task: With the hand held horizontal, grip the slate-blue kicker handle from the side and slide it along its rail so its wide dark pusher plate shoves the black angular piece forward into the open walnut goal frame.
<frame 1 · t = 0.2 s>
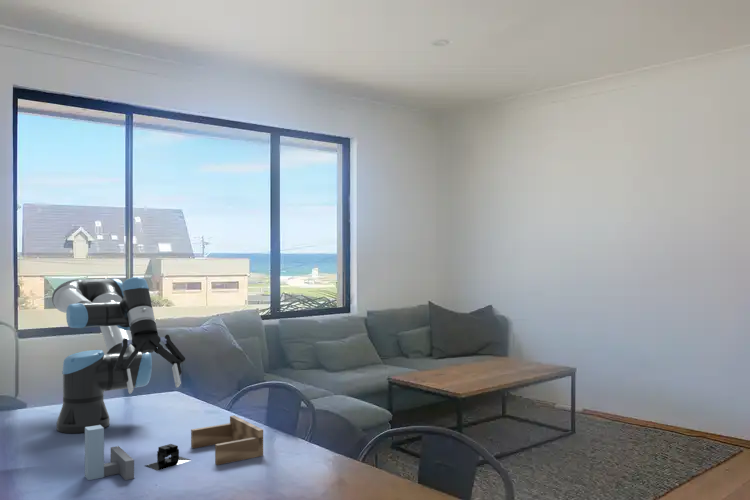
hand: (155, 388, 189), 15 cm above the table, fingers open, 13 cm apart
kicker: (106, 450, 161), point 6 cm above the table, slide at 0.0 cm
black angular piece: (168, 465, 170), on the table
goal: (227, 451, 180), on the table
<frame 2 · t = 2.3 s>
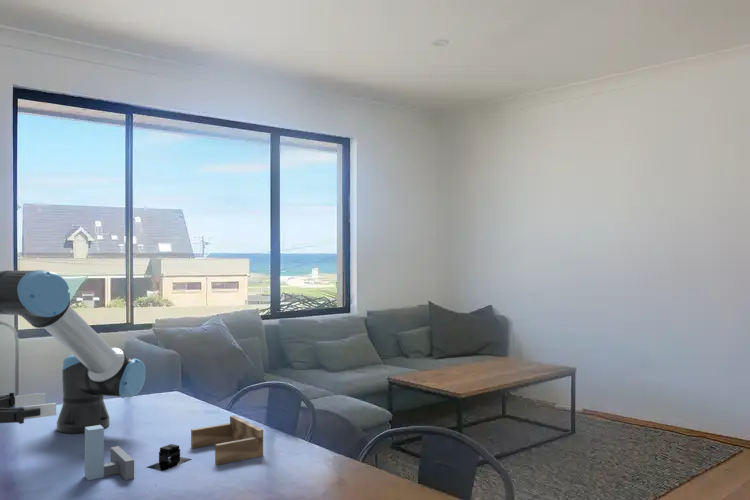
hand: (50, 403, 154), 19 cm above the table, fingers open, 13 cm apart
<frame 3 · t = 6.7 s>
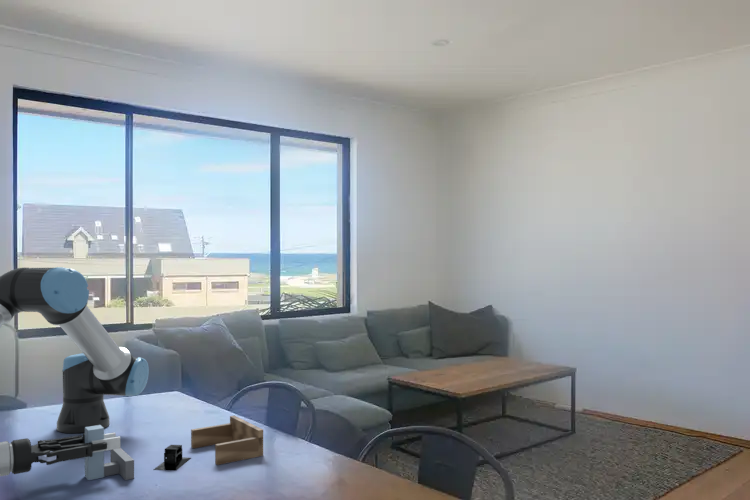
hand: (117, 440, 162), 8 cm above the table, fingers closed on kicker, 4 cm apart
kicker: (106, 450, 161), point 6 cm above the table, slide at 0.0 cm, touching gripper
black angular piece: (173, 466, 169), on the table
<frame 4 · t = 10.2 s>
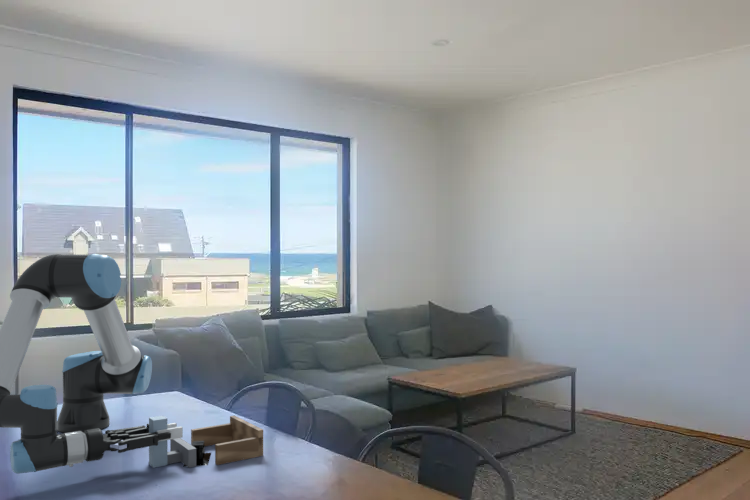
hand: (178, 430, 172), 8 cm above the table, fingers closed on kicker, 4 cm apart
kicker: (169, 439, 170), point 6 cm above the table, slide at 15.5 cm, touching gripper
black angular piece: (197, 462, 173), on the table
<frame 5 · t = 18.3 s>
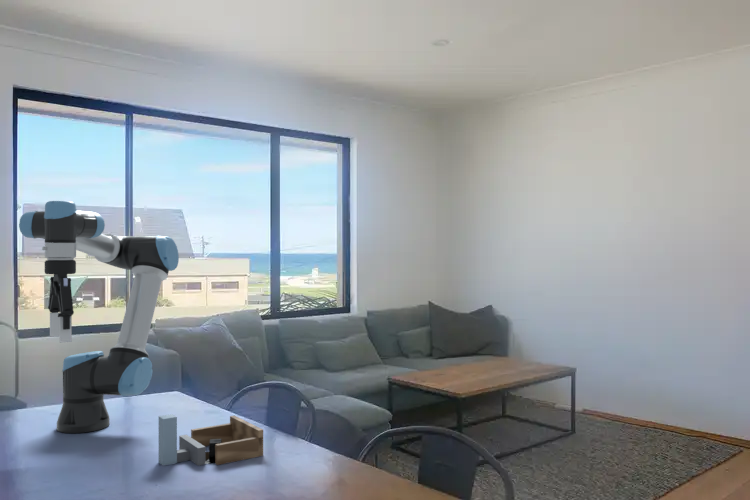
hand: (60, 339, 173), 32 cm above the table, fingers open, 13 cm apart
kicker: (178, 437, 172), point 6 cm above the table, slide at 18.0 cm
black angular piece: (215, 459, 175), on the table
at the end: black angular piece inside the target area (5.0 cm from its centre), on the table; kicker slide at 18.0 cm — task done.
